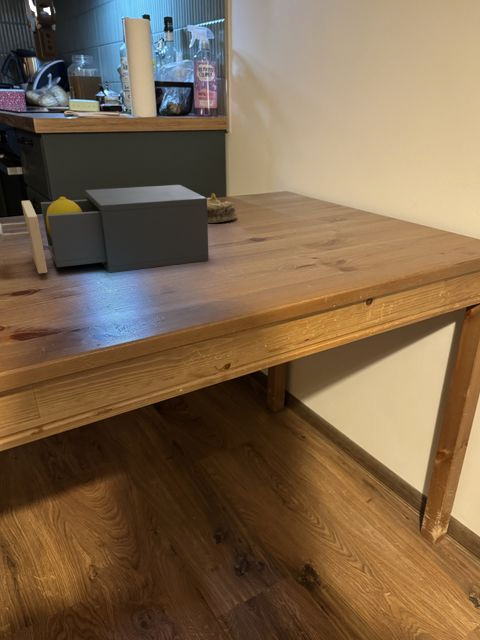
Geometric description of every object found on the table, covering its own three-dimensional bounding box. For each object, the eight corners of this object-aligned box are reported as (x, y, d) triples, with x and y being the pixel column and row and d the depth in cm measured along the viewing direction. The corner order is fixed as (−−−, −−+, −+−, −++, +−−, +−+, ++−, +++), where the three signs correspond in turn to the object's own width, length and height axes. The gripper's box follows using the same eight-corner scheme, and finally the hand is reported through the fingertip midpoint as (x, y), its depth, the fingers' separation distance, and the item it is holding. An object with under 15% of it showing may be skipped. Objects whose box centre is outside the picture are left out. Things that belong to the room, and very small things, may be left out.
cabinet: (108, 273, 74) (100, 205, 69) (92, 250, 84) (84, 190, 79) (208, 260, 80) (207, 198, 76) (182, 240, 90) (179, 184, 86)
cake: (213, 229, 101) (211, 202, 98) (181, 221, 106) (178, 195, 104) (247, 217, 107) (245, 191, 104) (214, 210, 113) (212, 186, 110)
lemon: (78, 256, 73) (69, 201, 70) (43, 254, 74) (33, 199, 70) (96, 246, 78) (88, 194, 74) (63, 244, 79) (54, 192, 75)
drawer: (1, 278, 68) (-13, 219, 64) (-2, 255, 77) (-14, 203, 73) (141, 261, 76) (136, 208, 72) (123, 242, 85) (118, 194, 81)
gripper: (-2, -60, 78) (19, 60, 85) (2, -84, 66) (25, 57, 74) (49, -53, 81) (65, 63, 88) (61, -75, 69) (78, 59, 77)
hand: (47, 60), depth 81 cm, fingers open, 8 cm apart
